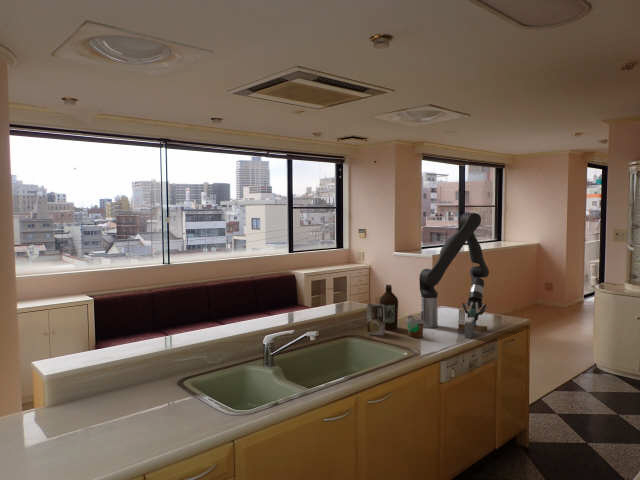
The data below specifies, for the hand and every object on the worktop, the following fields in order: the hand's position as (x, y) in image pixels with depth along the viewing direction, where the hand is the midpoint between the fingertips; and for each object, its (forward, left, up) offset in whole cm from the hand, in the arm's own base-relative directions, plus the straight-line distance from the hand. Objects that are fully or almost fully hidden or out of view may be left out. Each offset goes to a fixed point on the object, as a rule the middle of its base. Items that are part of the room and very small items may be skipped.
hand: (472, 319), depth 268 cm
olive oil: (-46, -6, -6) cm, 46 cm away
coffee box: (-51, -19, -6) cm, 54 cm away
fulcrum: (-2, -12, -6) cm, 14 cm away
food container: (-31, -20, -6) cm, 37 cm away
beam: (0, +2, -6) cm, 6 cm away
